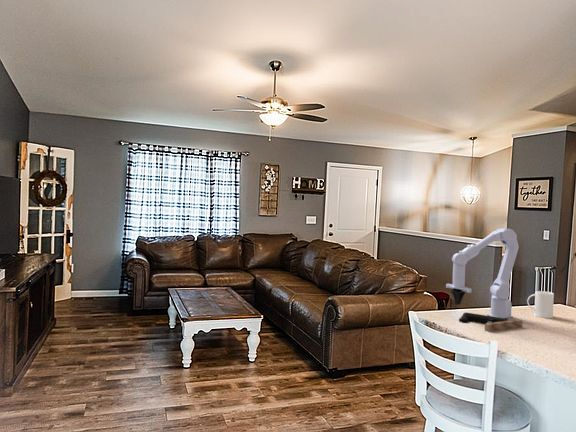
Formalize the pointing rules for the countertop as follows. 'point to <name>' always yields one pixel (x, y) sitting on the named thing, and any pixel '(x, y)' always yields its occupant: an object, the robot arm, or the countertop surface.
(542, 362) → the countertop surface
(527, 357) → the countertop surface
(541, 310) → the mug
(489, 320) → the door handle
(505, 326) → the bar
